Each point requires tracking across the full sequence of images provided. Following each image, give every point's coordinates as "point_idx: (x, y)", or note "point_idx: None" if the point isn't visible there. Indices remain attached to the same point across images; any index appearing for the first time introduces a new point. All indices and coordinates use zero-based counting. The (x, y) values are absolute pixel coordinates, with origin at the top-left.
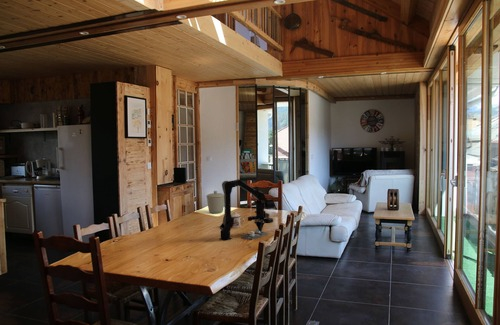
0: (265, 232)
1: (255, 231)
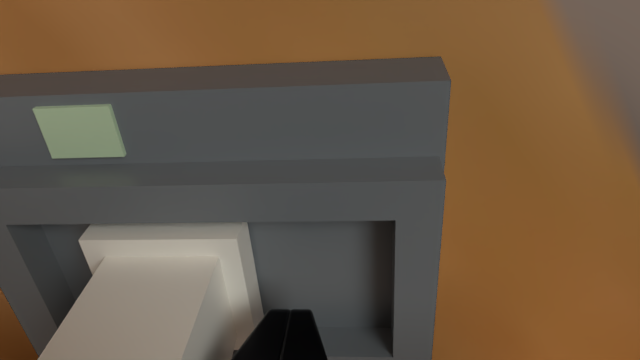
0: (443, 200)
1: (29, 255)
